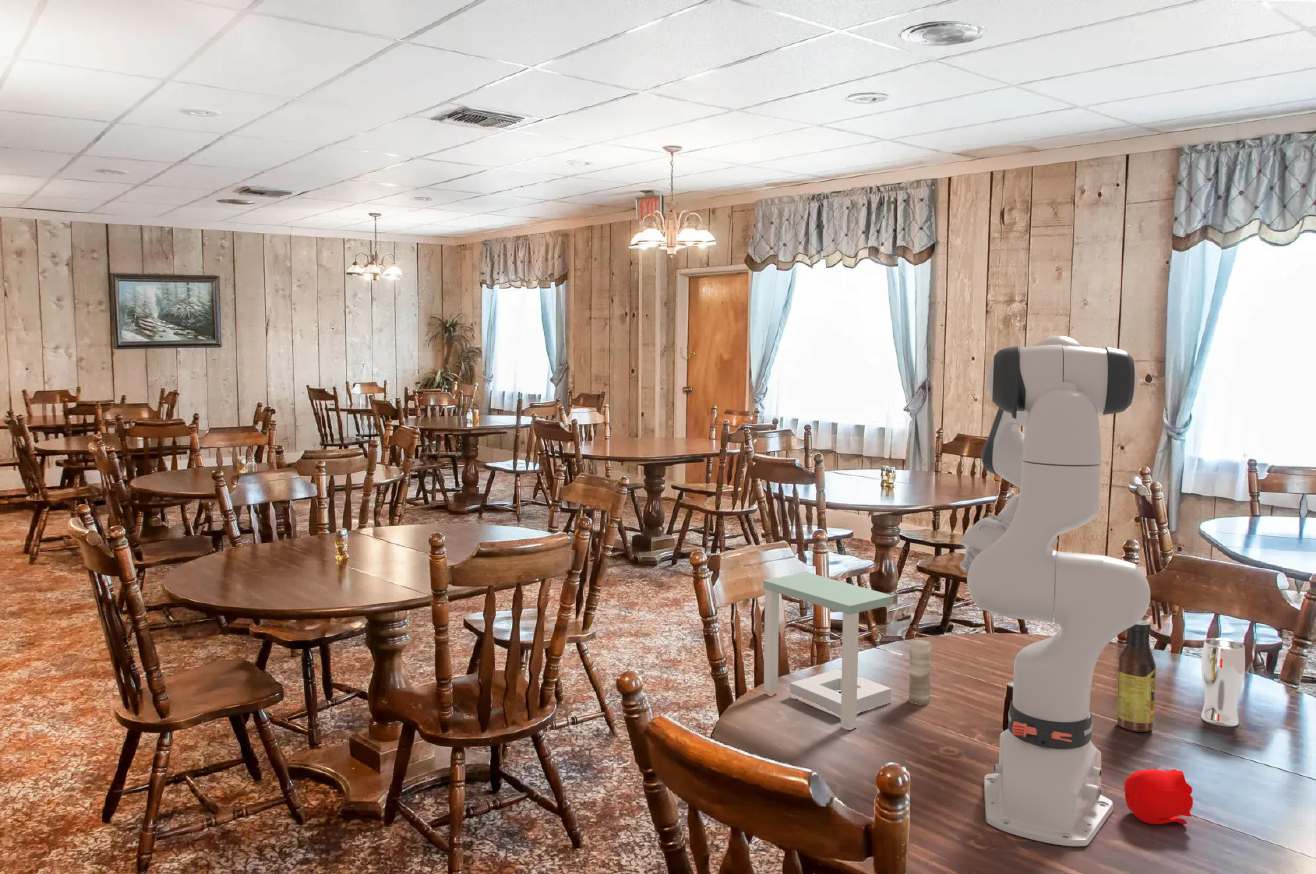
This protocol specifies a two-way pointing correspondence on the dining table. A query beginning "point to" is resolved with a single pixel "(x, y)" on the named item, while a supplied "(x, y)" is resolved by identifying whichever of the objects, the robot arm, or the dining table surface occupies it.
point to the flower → (1158, 796)
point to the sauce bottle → (1136, 681)
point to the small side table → (829, 596)
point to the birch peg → (920, 672)
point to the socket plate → (824, 695)
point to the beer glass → (1222, 680)
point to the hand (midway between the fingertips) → (977, 573)
